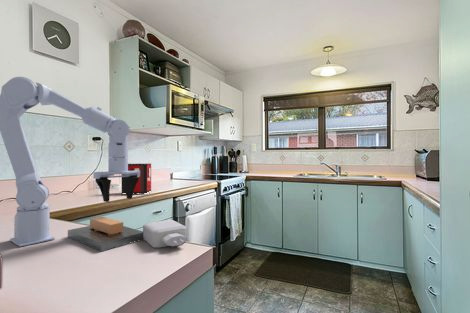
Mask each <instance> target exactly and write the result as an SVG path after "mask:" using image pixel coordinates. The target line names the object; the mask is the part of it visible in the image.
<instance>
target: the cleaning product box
mask: <svg viewBox="0 0 470 313" xmlns="http://www.w3.org/2000/svg"><path fill="white" fill-rule="evenodd" d="M128 171H140V176H137V177H139V181H138V182H137V184H136V186H135V189H134V192H133V193H147V192H149V191H151V192H152V163H128ZM125 178H127V177H121V194H122V193H126V182H125Z"/></svg>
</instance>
